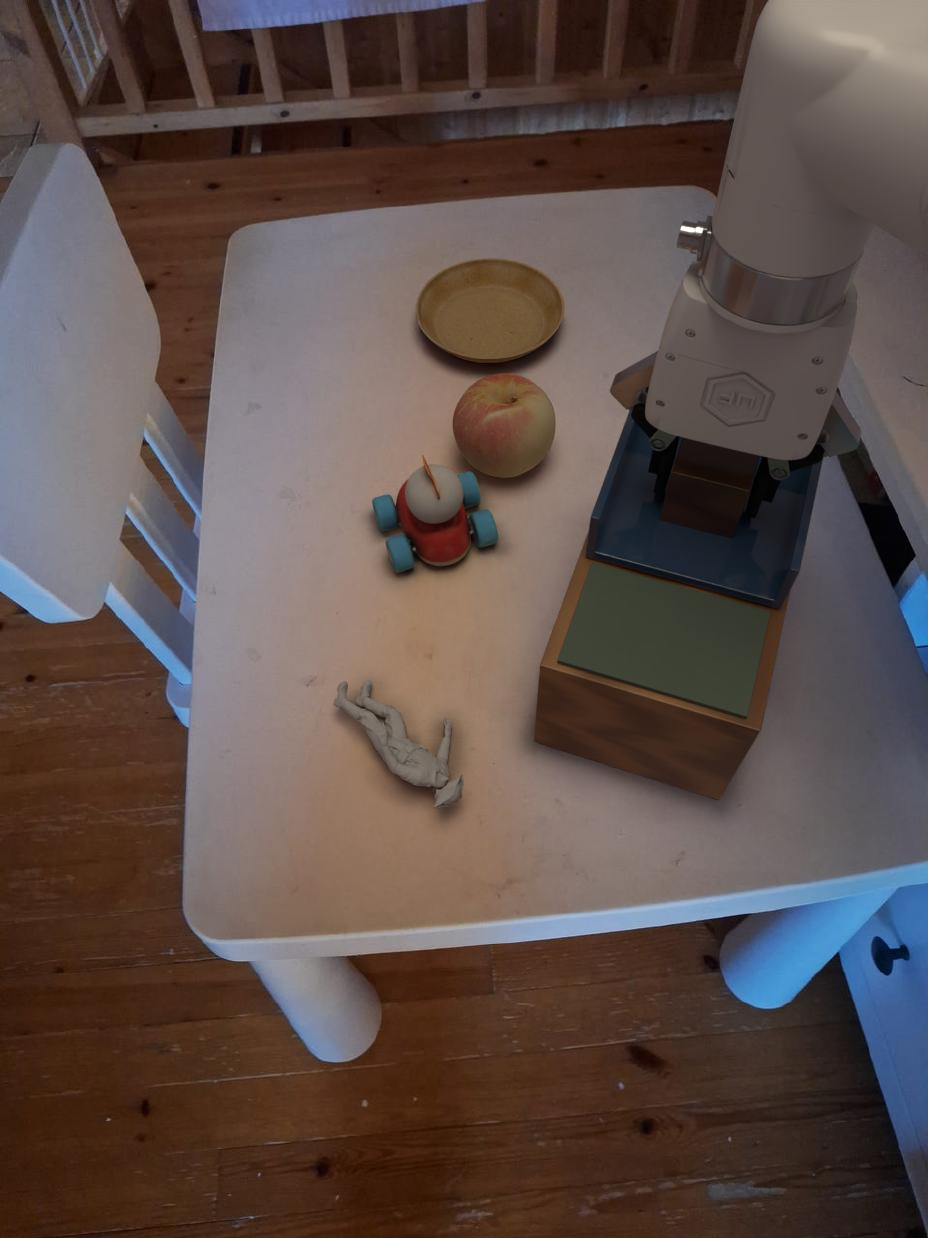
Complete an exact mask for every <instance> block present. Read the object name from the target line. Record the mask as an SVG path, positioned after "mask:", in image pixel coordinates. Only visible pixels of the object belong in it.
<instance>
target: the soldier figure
mask: <svg viewBox="0 0 928 1238" xmlns="http://www.w3.org/2000/svg"><path fill="white" fill-rule="evenodd" d="M372 687H373V682H372V680H370V679H369V680H366V681H365V682H363V684H362V685H361V687H360V691H361V693H360V695H359V696H357V698H356V699H355V704H354V703H353V702H352V701H349V700H348V697H347V693H348V689H349V683H348V682H347V680H343V681H341V682H339V684H338V686H337V688H336V691H337V696H336V698H334V701H333V706H334V707H335V708H337V709H340V710H344V712H346V713H347V715H350V717H352V718H353V719H354V720H356V721H360V723H361V724H363V727H364V729H365V732H366V735H367V736H368V738H369V739H370V741H371V743H372V745H373V747H374V749H375V750H376V752H377V753H378V754H379V756H380V757H381V758H382V761H383V762H385V763H386V765H387V767H388V769H389V771H390V772H391V773H392V774H394V775H397V776H398V777H399V778H401V779H402V780H404V781H405V782H407V783H409V784H411V785H413V786H416V787H427V788H430V787H434V788H433V789H432V791H434V790H435V794H434V799H435V800H436V801H435V803H434V805H433V809H434V810H435V809H439V808H446V807H451V806H453V805H456V804H457V803H458V802H459V801H461V799H462V798H463V792H464V785H465V784H464V778H463V777H464V776H463V774H460V775H458V776H456V778H455V777H454V779H452V778H449V777H450V775H451V773H450V770H449V765H448V761H449V755H450V747H451V740H452V739H451V736H452V728H453V727H452V722H451V720H450V719H449V718H448V717H447V718H446V717H445V718H444V719H442V723H443V724H444V730H443V734H444V736H443V737H442V738H441V739H440V740H441V741H440V744H439V747H438V750H437V752H436V756H434V755H433V754H431V752H430V749H429V748H428V747H427V746H426V745H424V744H422V743H419V744H418V743H416V742H414V741H413V740H411V739H410V738H408V735H407V728H406V723H405V721H404V718H403V715H402V713H401V712H400V711H399V710H398V709H397V708H395V707H394V706H393V705H391V704H390V705H388V704H385V703H382V702H379V701H377V700H374V699H373V698H371V697H370V693H371V690H372ZM376 715H377V716H378V717H381V718H384V719H385V720H384V721H385V723H386V725H385V723H384V722H382V721H380V720H379V719H378V718H377V716H376ZM448 780H451V781H449V782H448ZM447 782H448V783H447ZM442 787H443V788H442ZM435 788H436V789H435ZM439 788H441V789H439Z"/></svg>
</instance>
